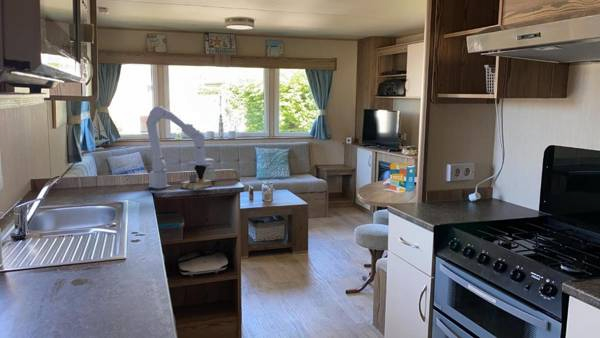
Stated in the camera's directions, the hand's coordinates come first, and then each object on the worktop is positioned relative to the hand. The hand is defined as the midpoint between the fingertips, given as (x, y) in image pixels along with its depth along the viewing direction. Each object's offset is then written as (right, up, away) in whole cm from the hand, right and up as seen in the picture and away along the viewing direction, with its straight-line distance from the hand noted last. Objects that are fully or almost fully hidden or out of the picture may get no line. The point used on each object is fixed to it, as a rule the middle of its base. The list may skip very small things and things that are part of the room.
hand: (200, 178), depth 264 cm
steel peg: (-3, -5, -4) cm, 7 cm away
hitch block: (-2, -4, -2) cm, 5 cm away
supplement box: (0, -1, +17) cm, 17 cm away
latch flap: (0, -1, 0) cm, 1 cm away
